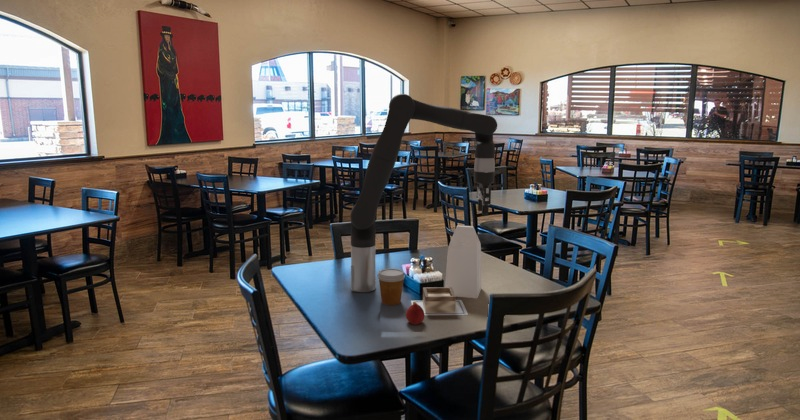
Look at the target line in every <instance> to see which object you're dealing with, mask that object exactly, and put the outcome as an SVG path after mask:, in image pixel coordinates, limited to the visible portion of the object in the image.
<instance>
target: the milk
mask: <svg viewBox="0 0 800 420" xmlns="http://www.w3.org/2000/svg"><path fill="white" fill-rule="evenodd" d="M481 245H482V244H481V241H480V239H479V236H478V234H477V232H476V229H475V227H474V226H473V225H456V228H455V229H454V230H453V234H452V237H451V239H450V242H449V244H448V247H447V254H446V255H447V257H446V268H445V269H446V271H445V282H444V283H445V285H444V287H452V289H453V292H454V294H455V296H456V298H457V297H458V298H470V299H478V297H479V295H480V294H481V293H480V292H481V290H482V246H481Z"/></svg>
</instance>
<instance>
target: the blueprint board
mask: <svg viewBox="0 0 800 420" xmlns="http://www.w3.org/2000/svg"><path fill="white" fill-rule="evenodd" d="M413 302H416V303H417V304H418V305H419V306H420V307H421V308H422V309H423V311H424V316H468V315H469V313H468V311H467V309H466V306H465V304H464V302H463V299H456V308H455V313H425V309H424V305H423V300H410V303H411V305H413Z"/></svg>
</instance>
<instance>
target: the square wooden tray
mask: <svg viewBox="0 0 800 420" xmlns="http://www.w3.org/2000/svg"><path fill="white" fill-rule="evenodd" d="M456 298H457V296H455V294H454V292H453V289H452V287H445V286H444V287H443V286H442V287H441V286H440V287H439V286H438V287H437V286H434V287H430V286H429V287H428V286H427V287H425V286H424V287H422V301H423V305H424V309H425V313H455V308H456V300H457V299H456Z"/></svg>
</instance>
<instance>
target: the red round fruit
mask: <svg viewBox="0 0 800 420" xmlns="http://www.w3.org/2000/svg"><path fill="white" fill-rule="evenodd" d="M405 316H406V317H405V319H406V320H407V322H408V323H410V324H411V325H416V326H417V325H419V324H421V323H422V322H423V321H424V320H425V315H424V311H423V309H422V308H421V307H420V306H419V305H418V304H417V303H416V302H413V305H412V304H411V305H410V306H409V307H408V308H407V309H406V311H405Z"/></svg>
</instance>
